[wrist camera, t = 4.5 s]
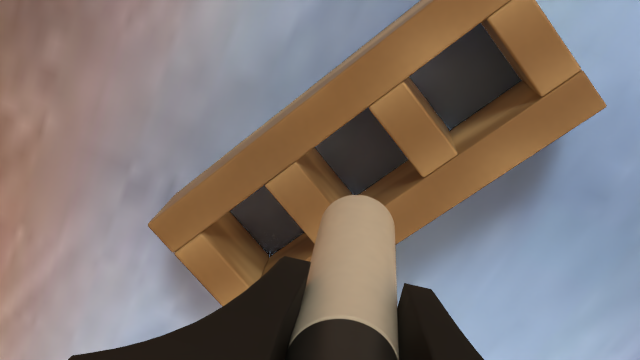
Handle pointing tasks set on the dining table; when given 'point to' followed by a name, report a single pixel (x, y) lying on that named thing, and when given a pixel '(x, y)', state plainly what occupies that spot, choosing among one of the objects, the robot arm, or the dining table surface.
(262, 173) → the pen block
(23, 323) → the dining table surface
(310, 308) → the marker
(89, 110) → the dining table surface
